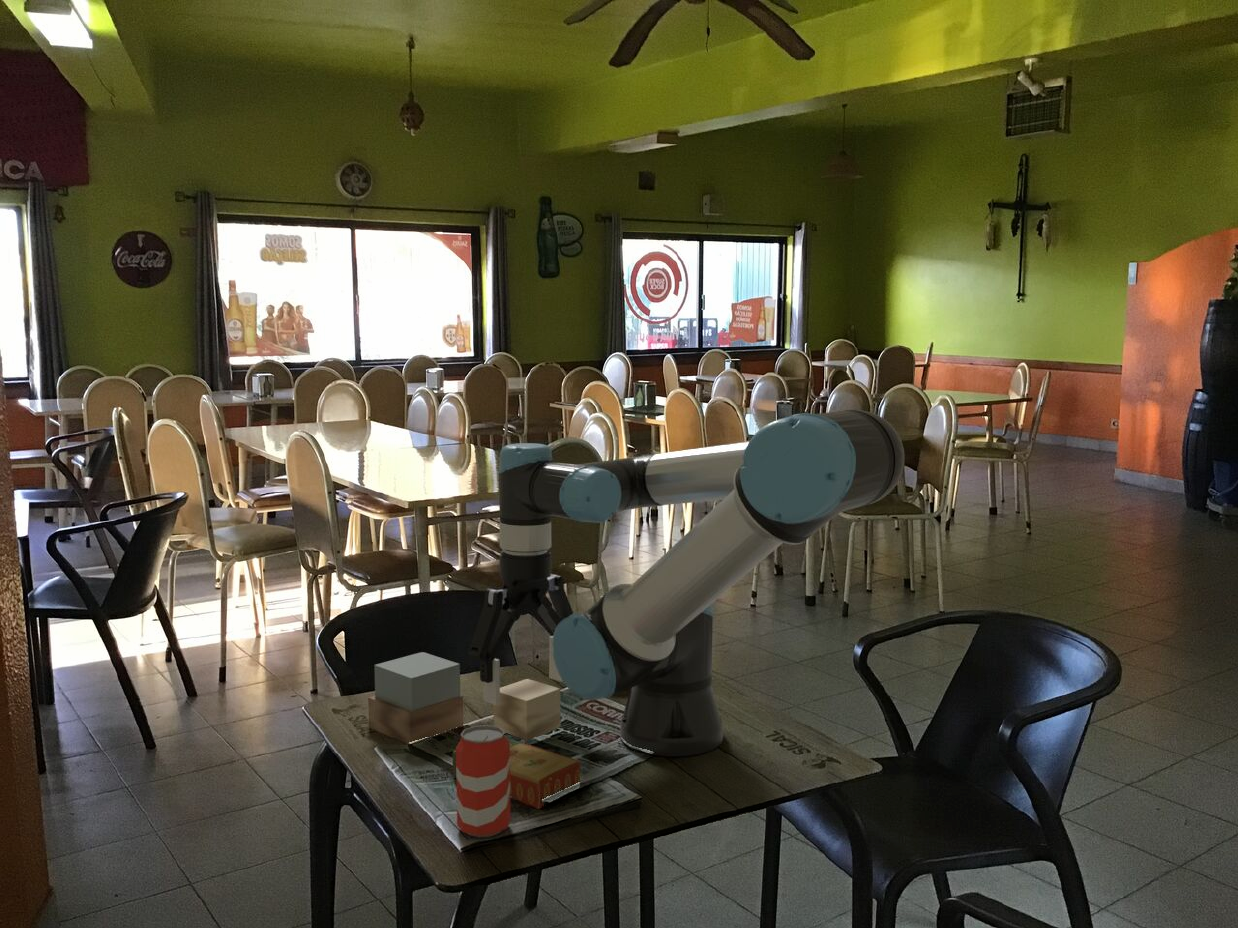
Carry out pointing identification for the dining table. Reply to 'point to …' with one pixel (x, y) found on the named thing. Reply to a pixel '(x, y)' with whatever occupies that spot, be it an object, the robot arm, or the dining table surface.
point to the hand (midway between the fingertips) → (525, 690)
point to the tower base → (414, 719)
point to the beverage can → (483, 781)
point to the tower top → (417, 681)
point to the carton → (537, 773)
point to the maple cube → (528, 709)
